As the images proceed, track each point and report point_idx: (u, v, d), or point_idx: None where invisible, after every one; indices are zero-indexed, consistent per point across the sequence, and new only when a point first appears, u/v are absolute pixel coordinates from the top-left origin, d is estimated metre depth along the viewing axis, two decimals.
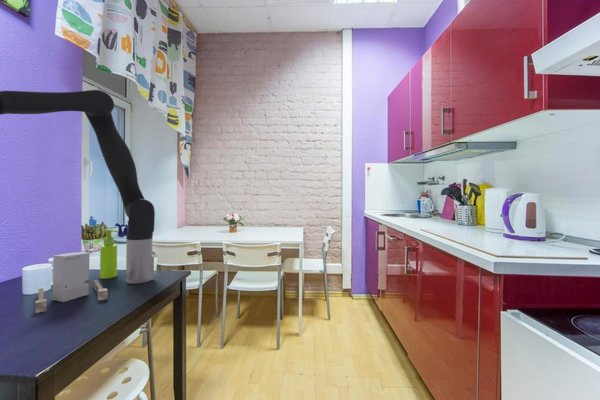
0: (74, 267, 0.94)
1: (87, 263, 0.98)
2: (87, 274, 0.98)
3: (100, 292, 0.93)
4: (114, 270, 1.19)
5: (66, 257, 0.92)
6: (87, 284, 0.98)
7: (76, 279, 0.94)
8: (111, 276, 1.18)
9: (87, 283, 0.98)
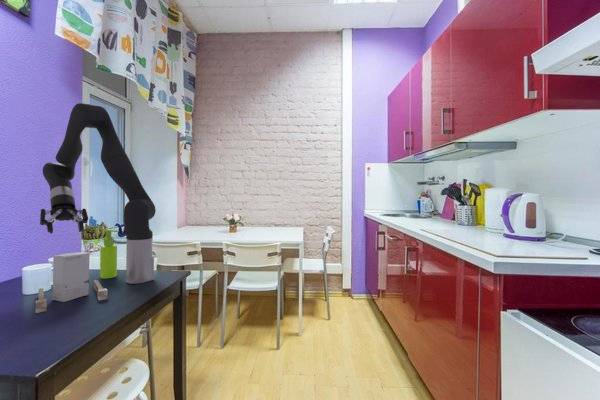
0: (74, 267, 0.94)
1: (87, 263, 0.98)
2: (87, 274, 0.98)
3: (100, 292, 0.93)
4: (114, 270, 1.19)
5: (66, 257, 0.92)
6: (87, 284, 0.98)
7: (76, 279, 0.94)
8: (111, 276, 1.18)
9: (87, 283, 0.98)
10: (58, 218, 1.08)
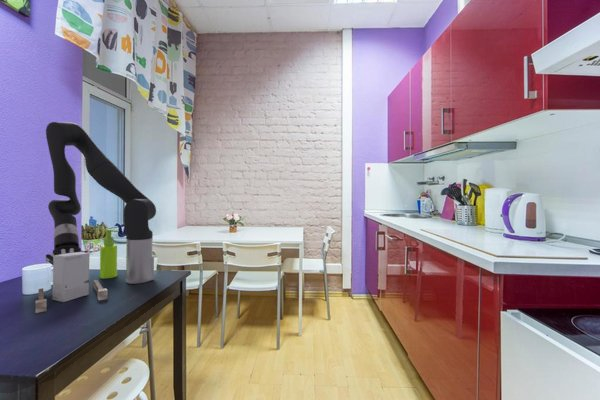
0: (74, 267, 0.94)
1: (87, 263, 0.98)
2: (87, 274, 0.98)
3: (100, 292, 0.93)
4: (114, 270, 1.19)
5: (66, 257, 0.92)
6: (87, 284, 0.98)
7: (76, 279, 0.94)
8: (111, 276, 1.18)
9: (87, 283, 0.98)
10: None
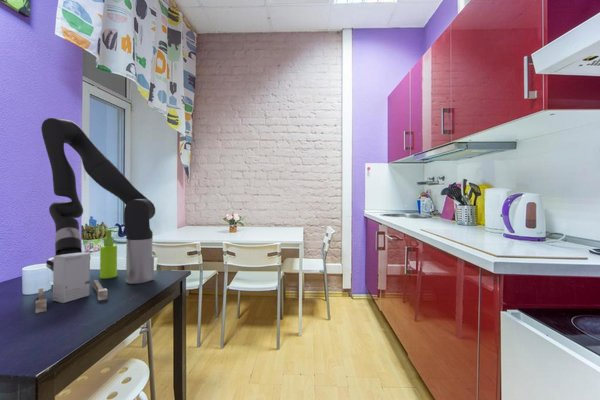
0: (74, 268, 0.93)
1: (88, 264, 0.97)
2: (88, 275, 0.97)
3: (100, 292, 0.93)
4: (114, 270, 1.19)
5: (66, 257, 0.91)
6: (88, 285, 0.97)
7: (76, 280, 0.93)
8: (111, 276, 1.18)
9: (88, 284, 0.97)
10: None
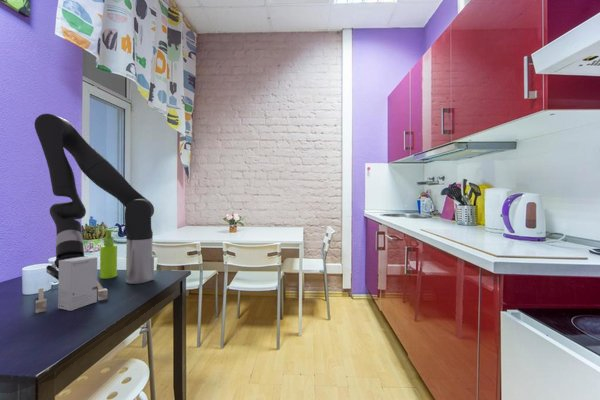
0: (82, 273, 0.87)
1: (95, 268, 0.91)
2: (95, 280, 0.91)
3: (100, 292, 0.93)
4: (114, 270, 1.19)
5: (74, 262, 0.85)
6: (95, 291, 0.91)
7: (83, 286, 0.88)
8: (111, 276, 1.18)
9: (95, 290, 0.91)
10: None
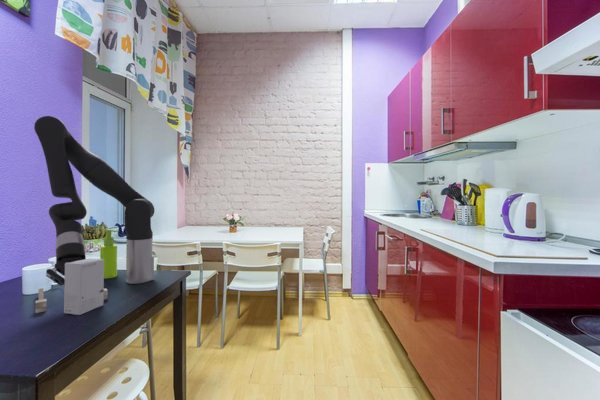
0: (90, 276, 0.85)
1: (102, 270, 0.89)
2: (102, 282, 0.89)
3: None
4: (114, 270, 1.19)
5: (83, 265, 0.82)
6: (102, 293, 0.89)
7: (91, 289, 0.85)
8: (111, 276, 1.18)
9: (102, 292, 0.89)
10: None
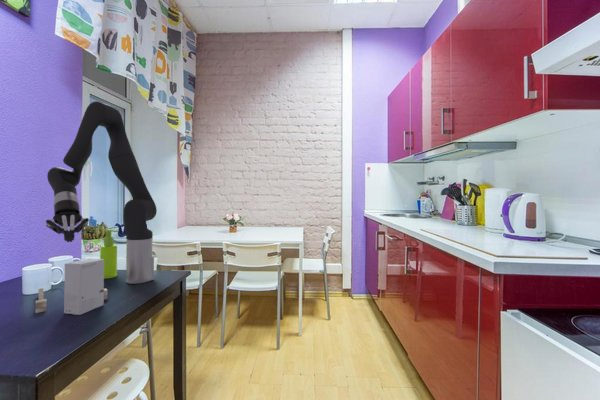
0: (90, 276, 0.85)
1: (102, 270, 0.89)
2: (102, 283, 0.89)
3: None
4: (114, 270, 1.19)
5: (82, 265, 0.82)
6: (102, 294, 0.89)
7: (91, 289, 0.85)
8: (111, 276, 1.18)
9: (102, 292, 0.89)
10: (68, 224, 1.05)
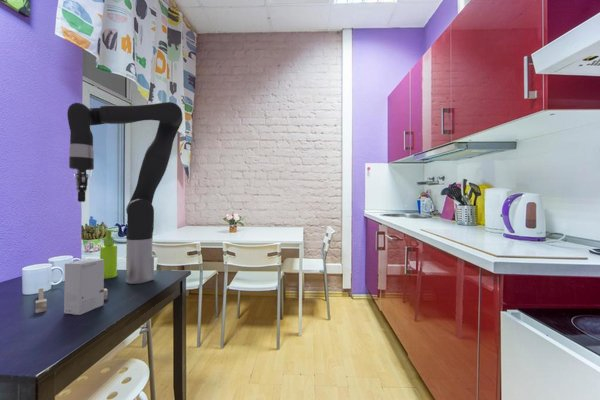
0: (90, 276, 0.85)
1: (102, 270, 0.89)
2: (102, 283, 0.89)
3: None
4: (114, 270, 1.19)
5: (82, 265, 0.82)
6: (102, 294, 0.89)
7: (91, 289, 0.85)
8: (111, 276, 1.18)
9: (102, 292, 0.89)
10: None
